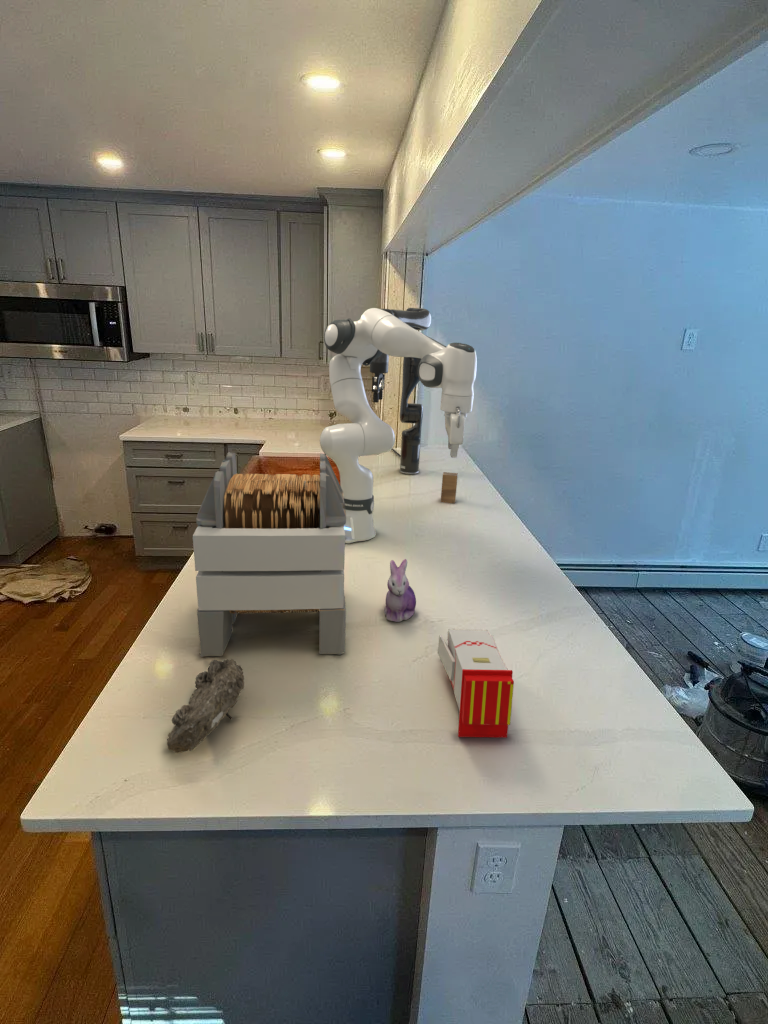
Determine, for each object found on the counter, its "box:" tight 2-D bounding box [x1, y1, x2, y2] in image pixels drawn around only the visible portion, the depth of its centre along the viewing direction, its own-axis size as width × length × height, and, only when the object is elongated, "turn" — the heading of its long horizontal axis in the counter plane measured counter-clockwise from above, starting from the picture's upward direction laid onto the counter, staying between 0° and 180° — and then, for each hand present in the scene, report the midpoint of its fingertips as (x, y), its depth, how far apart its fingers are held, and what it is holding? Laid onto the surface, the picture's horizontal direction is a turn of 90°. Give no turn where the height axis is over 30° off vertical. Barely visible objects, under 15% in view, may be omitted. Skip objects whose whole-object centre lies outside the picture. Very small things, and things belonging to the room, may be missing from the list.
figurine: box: [384, 558, 417, 623], centre depth 145 cm, size 9×10×15 cm
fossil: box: [166, 658, 245, 754], centre depth 106 cm, size 22×10×15 cm
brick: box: [440, 471, 459, 504], centre depth 234 cm, size 4×6×12 cm
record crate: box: [192, 452, 347, 658], centre depth 136 cm, size 34×33×41 cm
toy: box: [437, 628, 515, 738], centre depth 117 cm, size 12×13×30 cm
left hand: (452, 452), depth 162 cm, fingers open, 8 cm apart
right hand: (377, 400), depth 235 cm, fingers open, 8 cm apart
